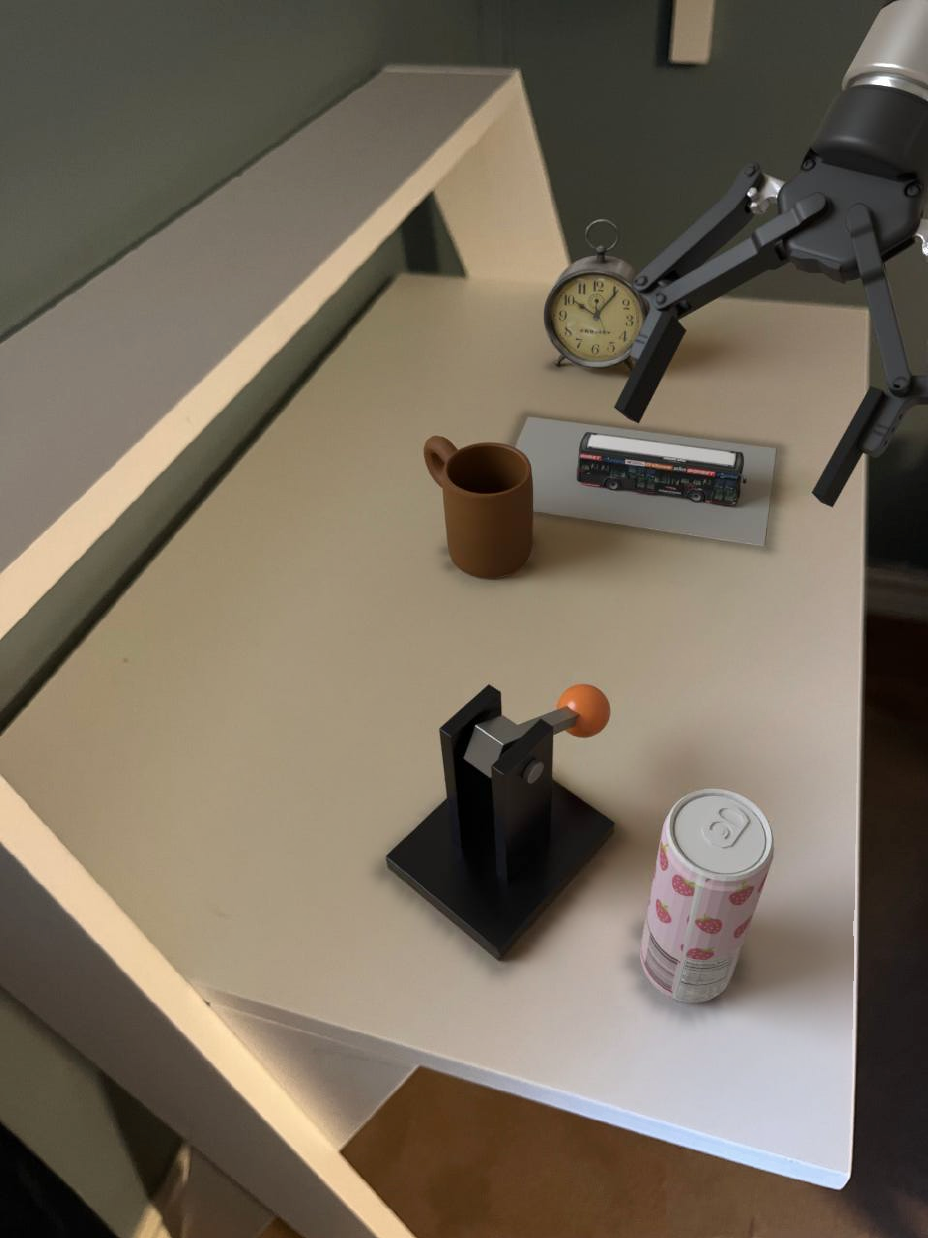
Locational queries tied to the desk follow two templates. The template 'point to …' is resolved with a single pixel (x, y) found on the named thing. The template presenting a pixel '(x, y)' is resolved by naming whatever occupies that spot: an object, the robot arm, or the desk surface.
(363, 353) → the desk surface
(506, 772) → the switch bracket
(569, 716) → the switch lever
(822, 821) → the desk surface
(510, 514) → the mug
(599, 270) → the alarm clock
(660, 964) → the beverage can
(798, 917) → the desk surface
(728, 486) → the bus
